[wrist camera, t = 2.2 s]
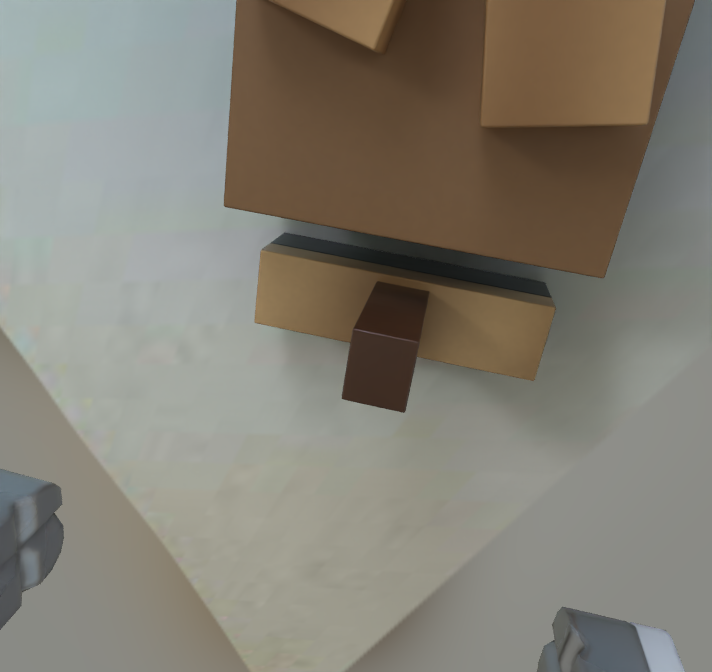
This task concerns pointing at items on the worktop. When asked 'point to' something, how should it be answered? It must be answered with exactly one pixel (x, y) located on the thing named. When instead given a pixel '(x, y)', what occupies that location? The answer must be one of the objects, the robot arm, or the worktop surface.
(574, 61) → the chip
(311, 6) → the chip
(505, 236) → the cabinet
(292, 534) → the worktop surface
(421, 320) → the brush
